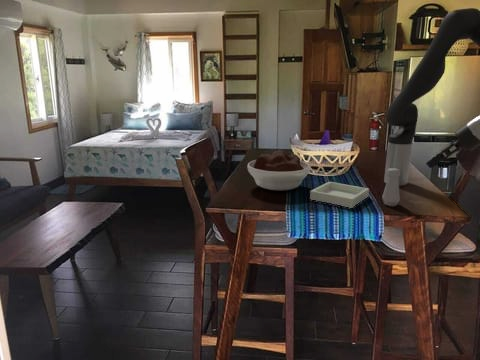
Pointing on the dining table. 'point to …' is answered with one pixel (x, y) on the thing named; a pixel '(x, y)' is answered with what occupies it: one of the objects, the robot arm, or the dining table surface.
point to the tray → (339, 194)
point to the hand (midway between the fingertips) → (431, 163)
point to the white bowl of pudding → (278, 171)
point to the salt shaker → (392, 188)
